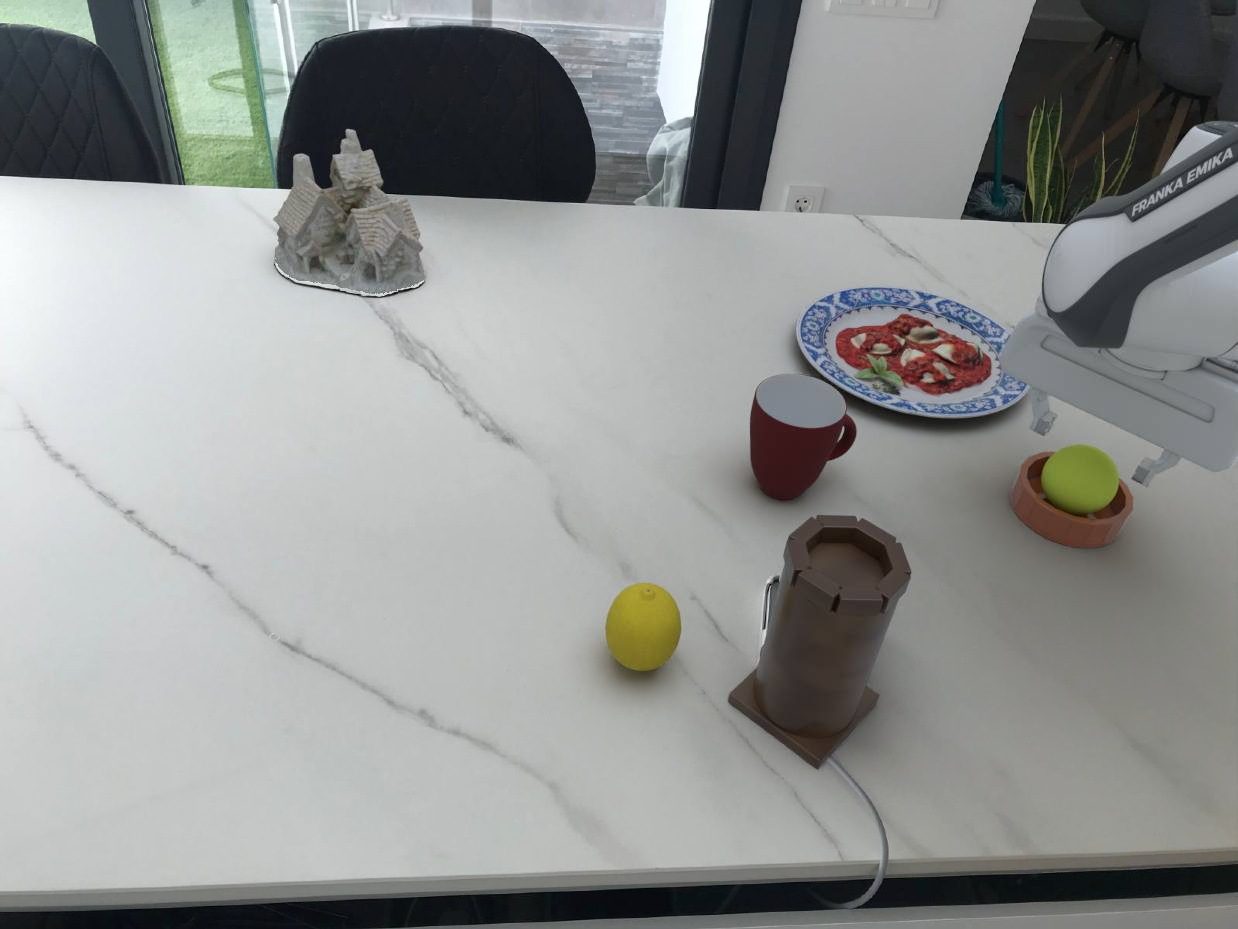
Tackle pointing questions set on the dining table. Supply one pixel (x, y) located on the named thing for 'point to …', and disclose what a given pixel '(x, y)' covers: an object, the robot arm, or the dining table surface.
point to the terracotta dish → (1060, 524)
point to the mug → (796, 432)
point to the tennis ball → (1080, 479)
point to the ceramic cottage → (348, 227)
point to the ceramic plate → (909, 351)
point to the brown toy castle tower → (825, 634)
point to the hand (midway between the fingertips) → (1089, 454)
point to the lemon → (643, 626)
